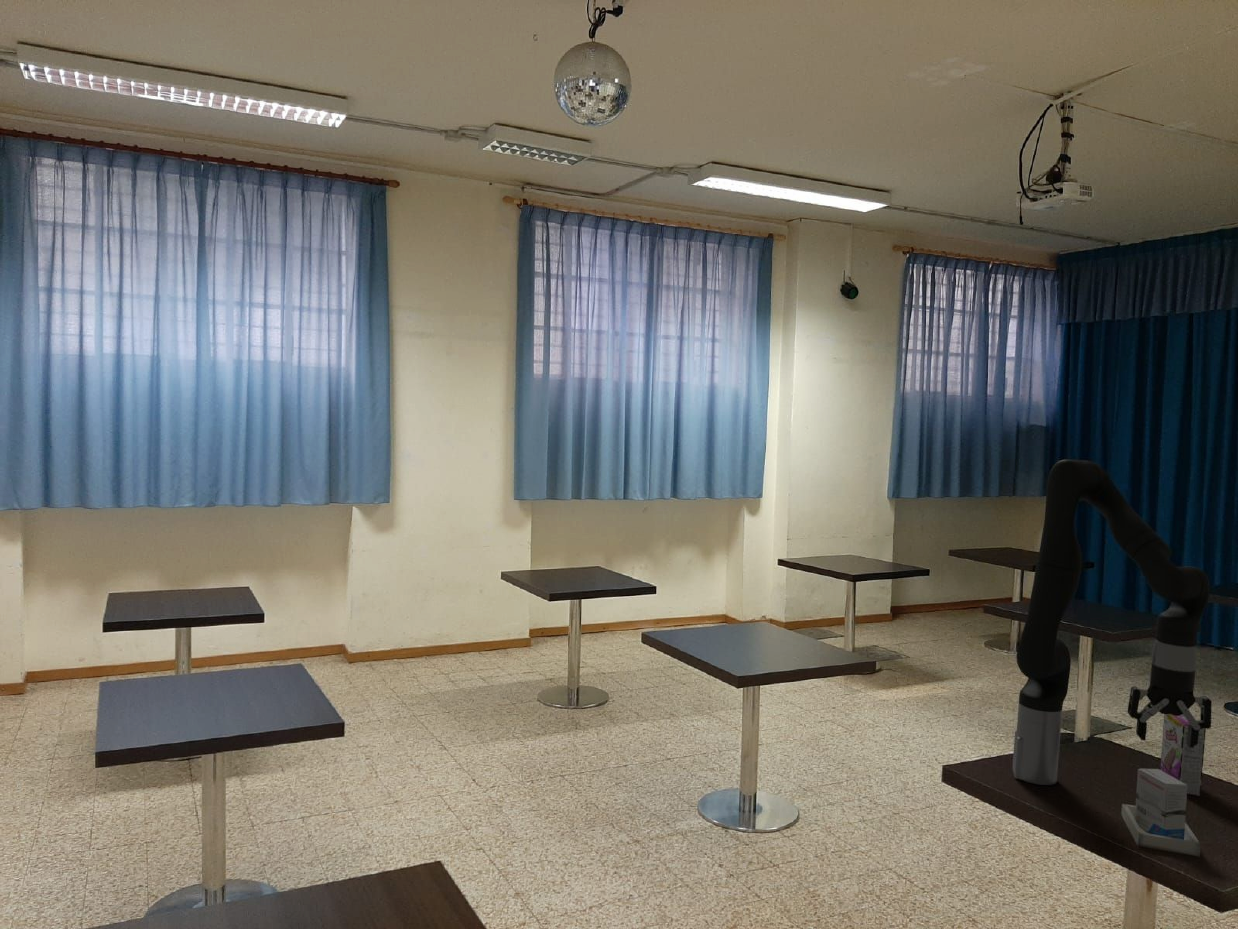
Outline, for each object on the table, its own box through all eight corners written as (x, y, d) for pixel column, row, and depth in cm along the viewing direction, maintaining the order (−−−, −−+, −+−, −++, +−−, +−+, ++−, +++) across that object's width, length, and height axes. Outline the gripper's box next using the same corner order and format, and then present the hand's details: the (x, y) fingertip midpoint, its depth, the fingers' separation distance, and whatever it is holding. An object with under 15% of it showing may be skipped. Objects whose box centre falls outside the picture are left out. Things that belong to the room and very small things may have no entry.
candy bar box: (1157, 775, 212) (1163, 708, 211) (1180, 777, 211) (1186, 710, 210) (1177, 794, 201) (1183, 723, 200) (1201, 797, 200) (1207, 726, 199)
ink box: (1185, 842, 176) (1190, 785, 175) (1162, 843, 175) (1167, 785, 174) (1154, 822, 184) (1158, 767, 184) (1132, 822, 184) (1136, 767, 183)
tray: (1137, 845, 174) (1138, 833, 174) (1121, 815, 188) (1122, 803, 188) (1199, 856, 171) (1200, 844, 171) (1178, 824, 185) (1179, 813, 185)
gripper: (1138, 664, 176) (1130, 743, 177) (1220, 674, 172) (1212, 755, 173) (1129, 655, 183) (1122, 731, 184) (1208, 664, 179) (1200, 742, 180)
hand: (1166, 742), depth 178 cm, fingers open, 8 cm apart
